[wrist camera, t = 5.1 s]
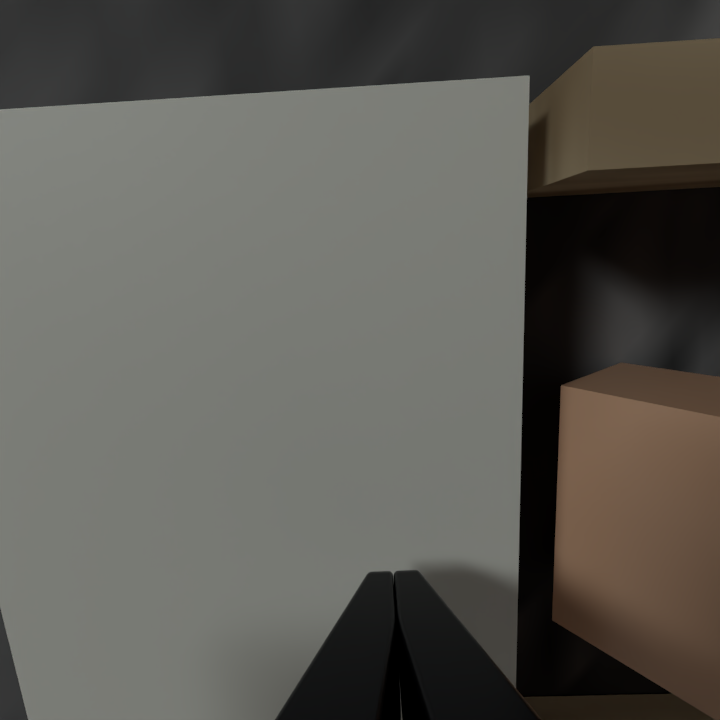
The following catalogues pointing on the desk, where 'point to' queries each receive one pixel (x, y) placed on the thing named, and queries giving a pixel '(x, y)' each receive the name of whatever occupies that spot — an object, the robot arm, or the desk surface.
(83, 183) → the plate
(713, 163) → the box
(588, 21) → the desk surface
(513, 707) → the robot arm
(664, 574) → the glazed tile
